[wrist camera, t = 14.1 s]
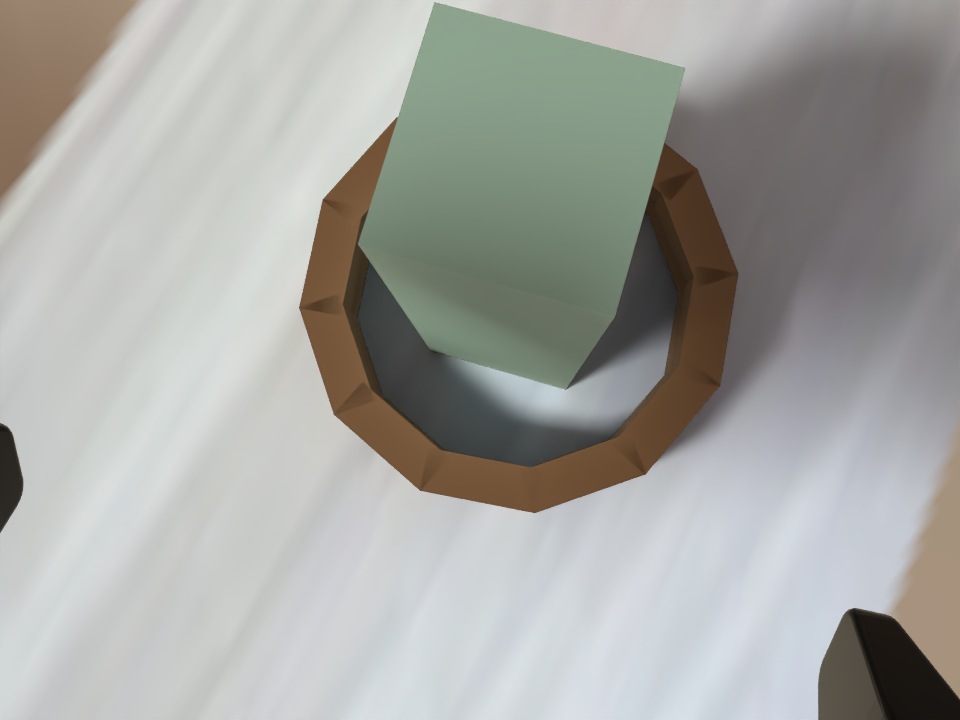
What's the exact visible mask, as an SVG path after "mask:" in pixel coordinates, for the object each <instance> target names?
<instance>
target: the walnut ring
mask: <svg viewBox="0 0 960 720" xmlns="http://www.w3.org/2000/svg"><path fill="white" fill-rule="evenodd" d="M397 119H398V117H397V118H396V119H395V120H394V121H393V122H392V123H391V124H390V125H389V127H388V128H387V129H386V130H385V131H384V132H383V133H382V134H381V135H380V137H379V138H378V139H377V140H376V141H375V142H374V143H373V144H372V145H371V147H370V148H369V149H368V150H367V151H366V152H365V153H364V154H363V155H362V157H361V158H360V159H359V160H358V161H357V162H356V163H355V164H354V165H353V167H352V168H351V169H350V170H349V171H348V172H347V173H346V174H345V176H344V177H343V178H342V179H341V180H340V181H339V182H338V183H337V184H336V186H335V187H334V188H333V189H332V190H331V191H330V192H329V193H328V194H327V196H326V197H325V198H324V199H323V201H322V206H321V210H320V215H319V220H318V224H317V229H316V233H315V238H314V242H313V247H312V252H311V256H310V261H309V265H308V270H307V275H306V279H305V284H304V288H303V293H302V298H301V302H300V307H299V308H300V311H301V315H302V318H303V321H304V324H305V327H306V330H307V333H308V336H309V339H310V342H311V345H312V348H313V351H314V354H315V358H316V361H317V364H318V367H319V370H320V373H321V376H322V379H323V382H324V385H325V388H326V391H327V394H328V397H329V401H330V404H331V407H332V410H333V413H334V415H335V416H336V417H337V418H339V419H340V420H341V421H342V422H343V423H344V424H345V425H346V426H348V427H349V428H350V429H351V430H352V431H353V432H354V433H356V434H357V435H358V436H359V437H360V438H361V439H362V440H363V441H365V442H366V443H367V444H368V445H369V446H370V447H371V448H372V449H374V450H375V451H376V452H377V453H378V454H379V455H380V456H382V457H383V458H384V459H385V460H386V461H387V462H388V463H389V464H391V465H392V466H393V467H394V468H395V469H396V470H397V471H399V472H400V473H401V474H402V475H403V476H404V477H405V478H406V479H408V480H409V481H410V482H411V483H412V484H413V485H414V486H415V487H417V488H418V489H419V490H420V491H425V492H430V493H435V494H440V495H445V496H450V497H456V498H461V499H466V500H471V501H476V502H481V503H486V504H491V505H496V506H502V507H507V508H512V509H517V510H522V511H527V512H532V513H536V512H539V511H542V510H545V509H548V508H551V507H553V506H556V505H559V504H562V503H565V502H568V501H571V500H573V499H576V498H579V497H582V496H585V495H588V494H591V493H593V492H596V491H599V490H602V489H605V488H608V487H611V486H613V485H616V484H619V483H622V482H625V481H628V480H631V479H633V478H636V477H639V476H642V475H645V474H646V473H647V472H648V471H649V470H650V468H651V467H652V466H653V465H654V464H655V462H656V461H657V460H658V459H659V458H660V456H661V455H662V454H663V453H664V452H665V451H666V449H667V448H668V447H669V446H670V445H671V443H672V442H673V441H674V440H675V439H676V437H677V436H678V435H679V434H680V433H681V432H682V430H683V429H684V428H685V427H686V426H687V424H688V423H689V422H690V421H691V420H692V418H693V417H694V416H695V415H696V414H697V413H698V411H699V410H700V409H701V408H702V407H703V405H704V404H705V403H706V402H707V401H708V399H709V398H710V397H711V396H712V395H713V393H714V392H715V391H716V390H717V389H718V388H719V386H720V383H721V377H722V371H723V365H724V359H725V352H726V346H727V340H728V334H729V328H730V321H731V315H732V309H733V303H734V297H735V291H736V284H737V278H738V272H737V269H736V266H735V264H734V261H733V259H732V256H731V254H730V251H729V249H728V246H727V244H726V241H725V238H724V236H723V233H722V231H721V228H720V226H719V223H718V221H717V218H716V216H715V213H714V211H713V208H712V205H711V203H710V200H709V198H708V195H707V193H706V190H705V188H704V185H703V183H702V180H701V177H700V175H699V172H698V169H696V168H695V167H694V166H693V165H691V164H690V163H689V162H688V161H686V160H685V159H684V158H683V157H681V156H680V155H679V154H678V153H676V152H675V151H674V150H673V149H671V148H670V147H669V146H668V145H666V144H665V143H664V145H663V149H662V152H661V156H660V159H659V163H658V166H657V170H656V174H655V177H654V181H653V184H652V188H651V191H650V195H649V198H648V202H647V205H646V209H645V212H644V213H645V214H646V215H647V216H648V217H649V219H650V221H651V224H652V226H653V229H654V232H655V234H656V237H657V239H658V242H659V245H660V247H661V250H662V253H663V255H664V258H665V260H666V263H667V266H668V268H669V271H670V273H671V276H672V279H673V281H674V284H675V286H676V289H677V292H678V298H677V304H676V310H675V315H674V321H673V327H672V333H671V339H670V345H669V351H668V357H667V363H666V369H665V375H664V376H663V378H662V379H661V380H660V381H659V382H658V383H657V385H656V386H655V387H654V388H653V389H652V390H651V392H650V393H649V394H648V395H647V396H646V398H645V399H644V400H643V401H642V402H641V403H640V405H639V406H638V407H637V408H636V409H635V411H634V412H633V413H632V414H631V415H630V416H629V418H628V419H627V420H626V421H625V422H624V424H623V425H622V426H621V427H620V428H619V429H618V431H617V432H616V433H615V434H614V435H613V436H612V438H611V439H610V440H607V441H604V442H601V443H599V444H596V445H593V446H590V447H587V448H584V449H581V450H579V451H576V452H573V453H570V454H567V455H564V456H561V457H559V458H556V459H553V460H550V461H547V462H544V463H541V464H539V465H536V466H533V467H526V466H521V465H516V464H511V463H506V462H500V461H495V460H490V459H485V458H480V457H474V456H469V455H464V454H459V453H454V452H448V451H445V450H444V449H443V448H442V447H440V446H439V445H438V444H437V443H436V442H435V441H434V440H432V439H431V438H430V437H429V436H428V435H427V434H426V433H424V432H423V431H422V430H421V429H420V428H419V427H418V426H416V425H415V424H414V423H413V422H412V421H411V420H410V419H408V418H407V417H406V416H405V415H404V414H403V413H402V412H400V411H399V410H398V409H397V408H396V407H395V406H394V405H392V404H391V403H390V402H389V401H388V400H387V399H385V398H384V397H383V394H382V391H381V388H380V385H379V382H378V379H377V376H376V373H375V370H374V367H373V364H372V361H371V358H370V355H369V352H368V349H367V346H366V343H365V340H364V337H363V334H362V331H361V328H360V325H359V322H358V319H357V317H358V312H359V307H360V303H361V298H362V293H363V288H364V283H365V279H366V274H367V269H368V264H369V260H368V258H367V257H366V255H365V254H364V252H363V251H362V249H361V248H360V246H359V245H358V242H359V239H360V236H361V233H362V230H363V227H364V223H365V220H366V217H367V214H368V211H369V208H370V204H371V201H372V198H373V195H374V192H375V189H376V185H377V182H378V179H379V176H380V173H381V170H382V167H383V163H384V160H385V157H386V154H387V151H388V148H389V144H390V141H391V138H392V135H393V132H394V129H395V126H396V122H397Z"/></svg>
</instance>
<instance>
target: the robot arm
mask: <svg viewBox="0 0 960 720" xmlns="http://www.w3.org/2000/svg"><path fill="white" fill-rule="evenodd" d="M22 492H23V476H22V472H21V468H20V463H19V459H18V455H17V450H16V446H15V442H14V437H13V434H12V432H11V431H10V429H9V428H8V427H7V426H5V425H4V424H1V423H0V533H1V531H2V529H3V528H4V526H5V525H6V523H7V521H8V520H9V518H10V516H11V515H12V513H13V512H14V510H15V508H16V507H17V505H18V503H19V501H20V498H21V496H22ZM818 720H960V699H959V698H958V696H957V695H956V694H955V693H954V691H953V690H952V689H951V688H950V686H949V685H948V684H947V683H946V681H945V680H944V679H943V678H942V676H941V675H940V674H939V673H938V672H937V670H936V669H935V668H934V666H933V665H932V664H931V663H930V661H929V660H928V659H927V658H926V656H925V655H924V654H923V653H922V652H921V650H920V649H919V648H918V646H917V645H916V644H915V643H914V641H913V640H912V639H911V638H910V636H909V635H908V634H907V633H906V632H905V630H904V629H903V628H902V626H901V625H900V624H899V623H898V622H897V621H896V620H895V619H894V618H892V617H891V616H888V615H886V614H881V613H876V612H872V611H867V610H863V609H858V608H853V609H849V610H848V611H847V612H846V613H845V614H844V615H843V617H842V619H841V621H840V623H839V626H838V628H837V630H836V632H835V634H834V637H833V639H832V641H831V643H830V645H829V648H828V650H827V652H826V654H825V657H824V659H823V661H822V664H821V668H820V673H819V681H818Z"/></svg>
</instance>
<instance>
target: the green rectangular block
mask: <svg viewBox="0 0 960 720" xmlns="http://www.w3.org/2000/svg"><path fill="white" fill-rule="evenodd" d="M684 71H685V68H683V67H680V66H676V65H672V64H668V63H664V62H661V61H657V60H653V59H649V58H645V57H642V56H638V55H634V54H630V53H626V52H622V51H619V50H615V49H611V48H607V47H603V46H600V45H596V44H592V43H588V42H584V41H581V40H577V39H573V38H569V37H565V36H562V35H558V34H554V33H550V32H546V31H542V30H539V29H535V28H531V27H527V26H523V25H520V24H516V23H512V22H508V21H504V20H501V19H497V18H493V17H489V16H485V15H482V14H478V13H474V12H470V11H466V10H462V9H459V8H455V7H451V6H447V5H443V4H440V3H436V2H434V6H433V9H432V12H431V15H430V18H429V21H428V25H427V28H426V31H425V34H424V37H423V40H422V43H421V47H420V50H419V53H418V56H417V59H416V62H415V66H414V69H413V72H412V75H411V78H410V81H409V85H408V88H407V91H406V94H405V97H404V100H403V103H402V107H401V110H400V113H399V116H398V119H397V122H396V126H395V129H394V132H393V135H392V138H391V141H390V144H389V148H388V151H387V154H386V157H385V160H384V163H383V167H382V170H381V173H380V176H379V179H378V182H377V185H376V189H375V192H374V195H373V198H372V201H371V204H370V208H369V211H368V214H367V217H366V220H365V223H364V227H363V230H362V233H361V236H360V239H359V242H358V245H359V246H360V248H361V249H362V251H363V252H364V254H365V255H366V257H367V258H368V260H369V261H370V262H371V264H372V265H373V267H374V268H375V270H376V271H377V273H378V274H379V276H380V277H381V279H382V280H383V282H384V283H385V284H386V286H387V287H388V289H389V290H390V292H391V293H392V295H393V296H394V298H395V299H396V301H397V302H398V304H399V305H400V306H401V308H402V309H403V311H404V312H405V314H406V315H407V317H408V318H409V320H410V321H411V323H412V324H413V326H414V327H415V328H416V330H417V331H418V333H419V334H420V336H421V337H422V339H423V340H424V342H425V343H426V345H427V346H428V348H429V349H430V350H431V351H434V352H438V353H441V354H445V355H448V356H452V357H455V358H459V359H462V360H465V361H469V362H472V363H476V364H479V365H483V366H486V367H490V368H493V369H496V370H500V371H503V372H507V373H510V374H514V375H517V376H521V377H524V378H528V379H531V380H534V381H538V382H541V383H545V384H548V385H552V386H555V387H559V388H562V389H565V390H566V388H567V387H568V385H569V384H570V382H571V381H572V379H573V378H574V376H575V375H576V373H577V372H578V371H579V369H580V368H581V366H582V365H583V363H584V362H585V360H586V359H587V357H588V356H589V354H590V353H591V351H592V350H593V349H594V347H595V346H596V344H597V343H598V341H599V340H600V338H601V337H602V335H603V334H604V332H605V331H606V329H607V328H608V326H609V325H610V324H611V322H612V321H613V319H614V318H615V315H616V312H617V308H618V305H619V301H620V298H621V294H622V290H623V287H624V283H625V280H626V276H627V273H628V269H629V266H630V262H631V259H632V255H633V251H634V248H635V244H636V241H637V237H638V234H639V230H640V227H641V223H642V220H643V216H644V212H645V209H646V205H647V202H648V198H649V195H650V191H651V188H652V184H653V181H654V177H655V174H656V170H657V166H658V163H659V159H660V156H661V152H662V149H663V145H664V142H665V138H666V135H667V131H668V127H669V124H670V120H671V117H672V113H673V110H674V106H675V103H676V99H677V96H678V92H679V88H680V85H681V81H682V78H683V74H684Z"/></svg>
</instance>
